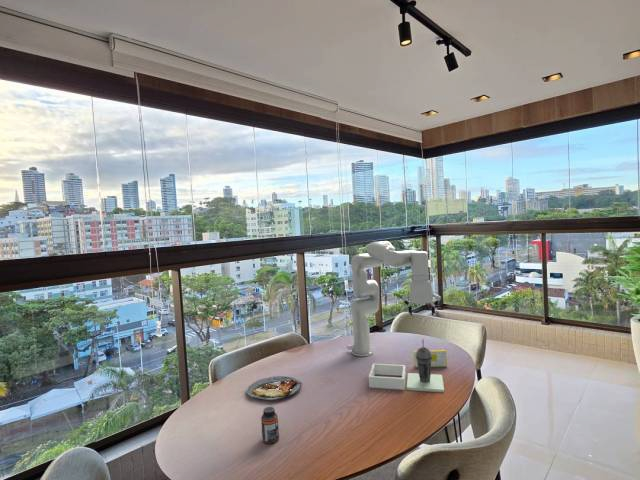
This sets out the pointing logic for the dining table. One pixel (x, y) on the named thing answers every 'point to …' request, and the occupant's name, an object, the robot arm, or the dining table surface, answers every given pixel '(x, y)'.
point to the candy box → (435, 358)
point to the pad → (431, 386)
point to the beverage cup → (424, 363)
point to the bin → (387, 381)
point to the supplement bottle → (269, 425)
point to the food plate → (274, 394)
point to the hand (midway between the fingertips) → (421, 314)
